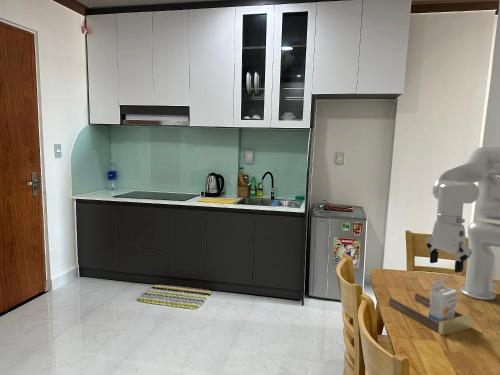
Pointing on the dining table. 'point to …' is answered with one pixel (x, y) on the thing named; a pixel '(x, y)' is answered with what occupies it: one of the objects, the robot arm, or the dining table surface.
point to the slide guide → (442, 327)
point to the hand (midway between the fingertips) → (445, 267)
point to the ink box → (441, 302)
